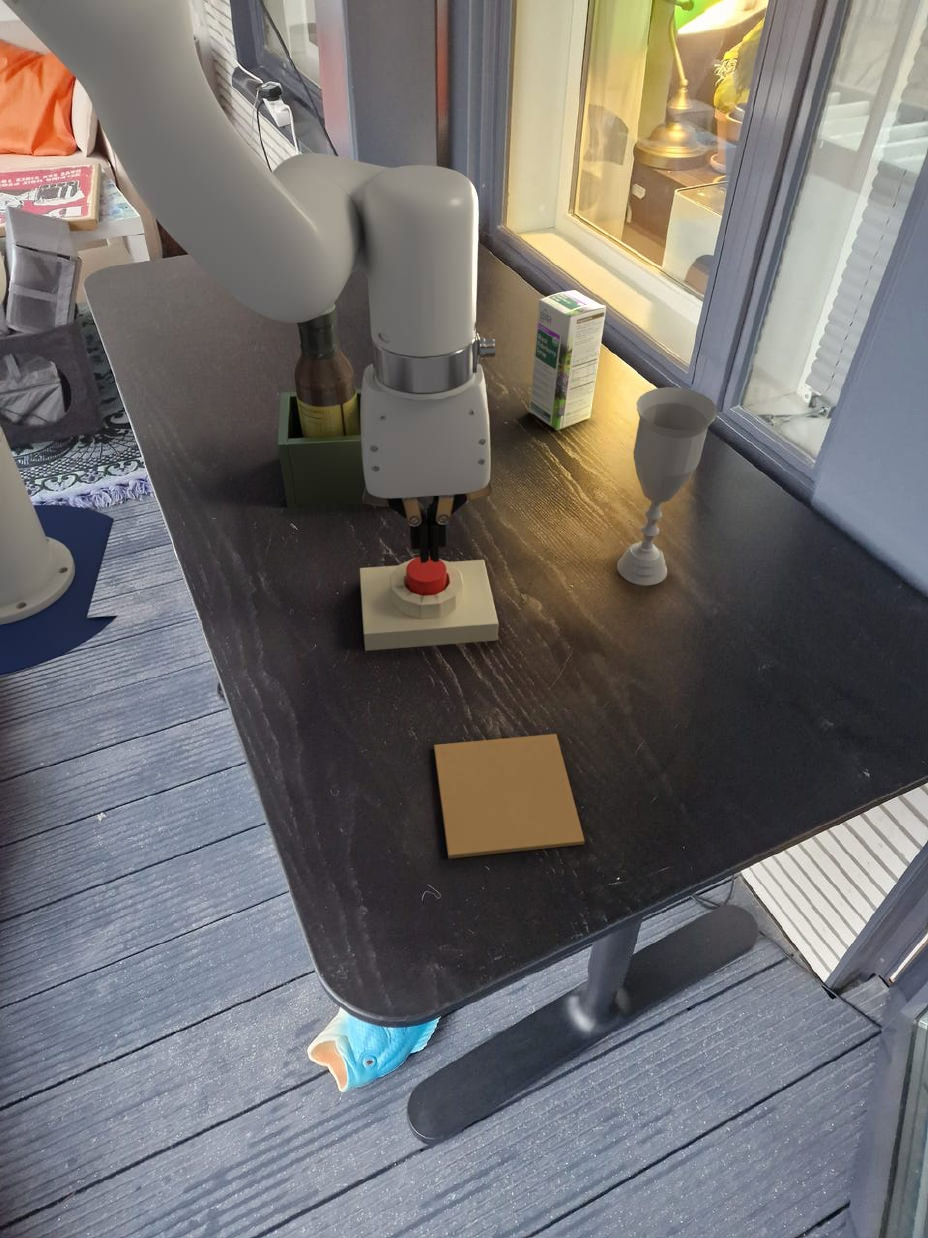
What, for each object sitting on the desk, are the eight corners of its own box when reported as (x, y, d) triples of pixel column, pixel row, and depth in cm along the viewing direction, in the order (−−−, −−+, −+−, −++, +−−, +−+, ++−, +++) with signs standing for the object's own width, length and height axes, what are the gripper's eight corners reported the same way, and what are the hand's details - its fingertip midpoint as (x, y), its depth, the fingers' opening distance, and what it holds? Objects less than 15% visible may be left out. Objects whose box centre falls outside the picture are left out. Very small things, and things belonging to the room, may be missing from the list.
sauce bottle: (348, 456, 99) (333, 286, 85) (374, 482, 95) (363, 309, 81) (298, 472, 96) (274, 299, 82) (322, 500, 92) (302, 324, 78)
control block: (365, 651, 76) (362, 618, 73) (360, 584, 82) (358, 552, 80) (497, 640, 77) (499, 608, 75) (483, 576, 84) (484, 544, 81)
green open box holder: (287, 508, 91) (272, 408, 83) (289, 454, 99) (275, 357, 90) (413, 501, 93) (411, 402, 84) (406, 448, 100) (403, 352, 92)
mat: (448, 859, 61) (448, 855, 61) (434, 748, 68) (434, 744, 68) (583, 844, 62) (584, 841, 62) (555, 737, 69) (556, 733, 69)
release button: (408, 597, 76) (408, 583, 75) (405, 571, 78) (404, 557, 77) (448, 595, 76) (448, 580, 75) (444, 569, 79) (444, 554, 78)
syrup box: (527, 411, 107) (536, 298, 97) (563, 398, 109) (575, 286, 99) (556, 432, 103) (568, 316, 93) (592, 418, 106) (608, 304, 96)
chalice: (659, 601, 82) (699, 439, 69) (595, 576, 84) (622, 414, 72) (687, 560, 86) (729, 400, 74) (625, 537, 89) (656, 379, 76)
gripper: (515, 330, 66) (504, 521, 78) (320, 339, 64) (341, 532, 77) (533, 377, 60) (519, 573, 73) (321, 388, 59) (344, 587, 71)
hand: (428, 552), depth 75 cm, fingers closed
